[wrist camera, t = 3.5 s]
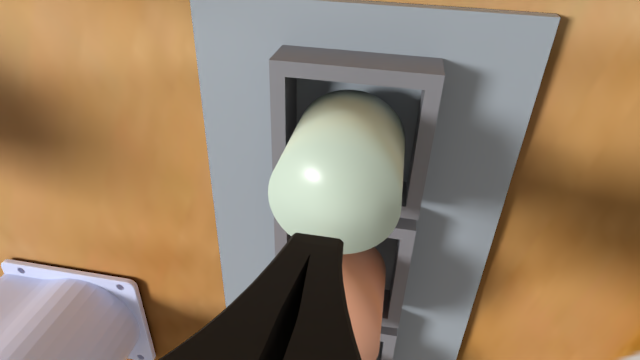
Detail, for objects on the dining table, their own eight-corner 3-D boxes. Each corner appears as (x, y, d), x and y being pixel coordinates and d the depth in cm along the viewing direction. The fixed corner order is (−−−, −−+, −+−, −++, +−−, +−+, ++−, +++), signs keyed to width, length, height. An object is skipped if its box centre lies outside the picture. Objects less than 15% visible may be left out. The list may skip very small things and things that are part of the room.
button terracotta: (296, 292, 24) (274, 365, 20) (297, 226, 21) (272, 295, 18) (381, 306, 23) (373, 384, 20) (391, 239, 21) (385, 313, 17)
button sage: (297, 179, 20) (270, 244, 16) (297, 84, 18) (265, 134, 14) (398, 192, 19) (392, 262, 16) (412, 95, 17) (410, 151, 13)
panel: (236, 358, 32) (222, 392, 29) (194, -12, 19) (165, 1, 16) (441, 396, 30) (443, 436, 27) (556, 13, 17) (576, 32, 14)
